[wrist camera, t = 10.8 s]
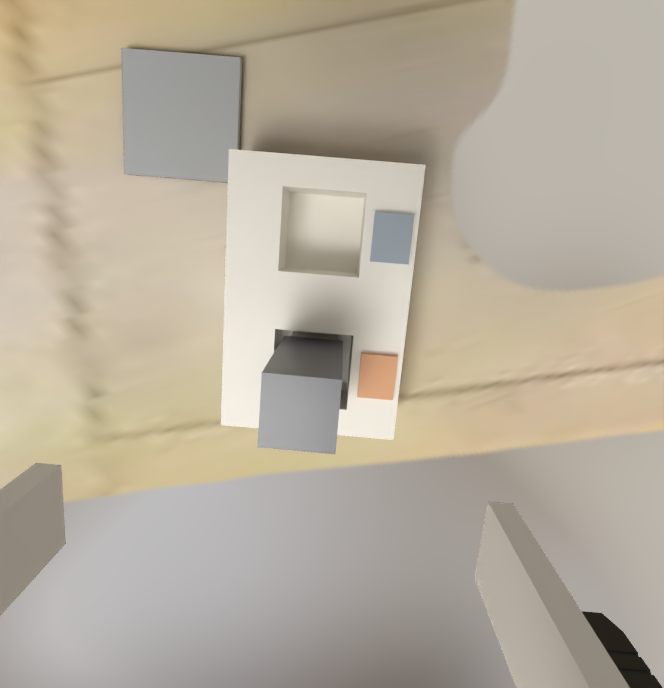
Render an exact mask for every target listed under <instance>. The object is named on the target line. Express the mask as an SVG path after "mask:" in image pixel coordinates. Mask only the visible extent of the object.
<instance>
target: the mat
mask: <svg viewBox="0 0 664 688" xmlns="http://www.w3.org/2000/svg"><path fill="white" fill-rule="evenodd" d="M241 81H242V59H241V58H240V57H230V56H218V55H205V54H192V53H180V52H167V51H155V50H142V49H129V48H122V98H123V150H124V174H127V175H138V176H150V177H163V178H175V179H187V180H199V181H212V182H224V183H228V159H229V149H236V150H239V141H240V111H241Z"/></svg>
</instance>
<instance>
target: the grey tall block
mask: <svg viewBox="0 0 664 688" xmlns="http://www.w3.org/2000/svg"><path fill="white" fill-rule="evenodd" d="M338 337H339V336H336V335H324V334H313V333H302V332H293V333H292V335H291V336H284V337H283V339H282V340H281V342H280V344H279V345H278V347H277V349H276V350H275V352H274V353H273V355H272V357H271V358H270V360H269V362H268V363H267V365H266V366H265V368H264V370H263V371H262V376H261V394H260V413H259V431H258V447H261V448H272V449H283V450H294V451H305V452H316V453H327V454H335V451H336V441H337V430H338V420H339V409H340V399H341V388H342V363H343V341H339V340H338Z"/></svg>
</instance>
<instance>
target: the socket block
mask: <svg viewBox="0 0 664 688" xmlns="http://www.w3.org/2000/svg"><path fill="white" fill-rule="evenodd" d="M425 167H426V165H422V164H410V163H397V162H385V161H372V160H360V159H348V158H335V157H323V156H311V155H298V154H286V153H274V152H261V151H249V150H236V149H229V159H228V195H227V230H226V265H225V300H224V335H223V370H222V405H221V425H226V426H238V427H250V428H259V413H260V394H261V376H262V371H263V370H264V368H265V366H266V365H267V363H268V362H269V360H270V358H271V357H272V355H273V353H274V352H275V350H276V349H277V347H278V345H279V344H280V342H281V340H282V339H283V337H284V336H291V335H292V333H293V332H302V333H313V334H324V335H336V336H339V337H338V340H339V341H343V363H342V388H341V399H340V409H339V420H338V430H337V435H344V436H355V437H367V438H379V439H390V440H393V438H394V430H395V421H396V413H397V404H398V396H399V388H400V379H401V371H402V362H403V354H404V345H405V337H406V328H407V320H408V311H409V303H410V294H411V286H412V277H413V269H414V260H415V252H416V243H417V235H418V226H419V218H420V209H421V201H422V192H423V184H424V176H425Z"/></svg>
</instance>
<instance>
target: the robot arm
mask: <svg viewBox="0 0 664 688" xmlns="http://www.w3.org/2000/svg"><path fill="white" fill-rule="evenodd" d="M65 544H66V541H65V524H64V507H63V489H62V472H61V465H54V464H42V463H36V464H34V465H33V466H32V467H30V468H29V469H28V470H26V471H25V472H23V473H22V474H21V475H19V476H18V477H17V478H15V479H14V480H13V481H11V482H10V483H9V484H7V485H6V486H5V487H3V488H2V489H0V616H1V614H2V613H3V612H4V611H5V610H6V609H7V608H8V607H9V605H10V604H11V603H12V602H13V601H14V600H15V599H16V598H17V597H18V596H19V595H20V593H21V592H22V591H23V590H24V589H25V588H26V587H27V586H28V584H29V583H30V582H31V581H32V580H33V579H34V578H35V577H36V576H37V575H38V574H39V572H40V571H41V570H42V569H43V568H44V567H45V566H46V565H47V564H48V562H49V561H50V560H51V559H52V558H53V557H54V556H55V555H56V554H57V553H58V551H59V550H60V549H61V548H62V547H63V546H64V545H65ZM475 581H476V584H477V587H478V589H479V592H480V594H481V597H482V600H483V602H484V605H485V607H486V610H487V613H488V615H489V618H490V621H491V623H492V626H493V628H494V631H495V633H496V636H497V639H498V641H499V644H500V647H501V649H502V652H503V654H504V657H505V660H506V662H507V665H508V667H509V670H510V673H511V675H512V678H513V680H514V683H515V686H516V688H662V686H661V685H660V684H659V682H658V681H657V679H656V678H655V676H654V675H651V673H650V669H649V668H648V667H647V665H646V664H645V662H644V661H643V659H642V658H641V657H638V652H637V651H636V650H635V648H634V647H633V645H632V644H631V642H630V641H629V640H628V638H627V637H626V635H625V634H624V633H623V631H621V630H620V629H619V628H618V627H617V626H616V625H615V624H613V623H612V622H611V621H610V620H609V619H608V618H606V617H605V616H604V615H603V614H602V613H593V612H582V611H581V610H580V609H579V607H578V605H577V604H576V602H575V600H574V599H573V597H572V596H571V594H570V593H569V591H568V590H567V588H566V586H565V585H564V583H563V582H562V580H561V578H560V577H559V575H558V574H557V572H556V571H555V569H554V568H553V566H552V564H551V563H550V561H549V560H548V558H547V556H546V555H545V553H544V552H543V550H542V548H541V547H540V545H539V544H538V542H537V541H536V539H535V537H534V536H533V534H532V533H531V531H530V530H529V528H528V527H527V525H526V523H525V522H524V520H523V519H522V517H521V515H520V514H519V512H518V511H517V509H516V508H515V506H514V505H513V503H501V502H489V501H488V504H487V510H486V515H485V521H484V527H483V533H482V538H481V544H480V550H479V555H478V561H477V567H476V573H475Z"/></svg>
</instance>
